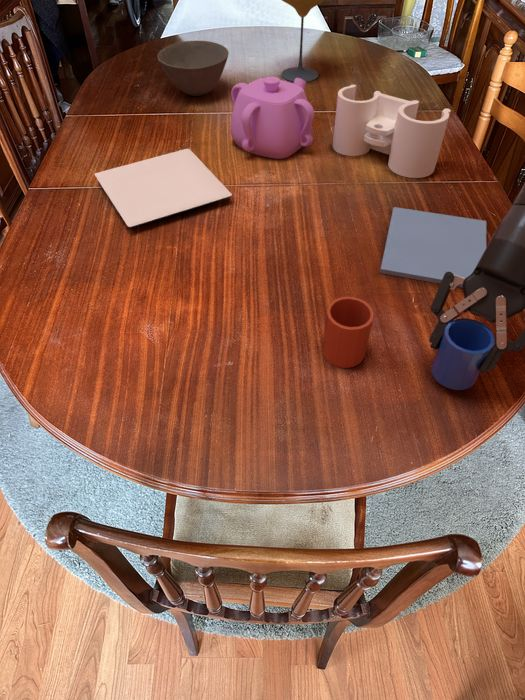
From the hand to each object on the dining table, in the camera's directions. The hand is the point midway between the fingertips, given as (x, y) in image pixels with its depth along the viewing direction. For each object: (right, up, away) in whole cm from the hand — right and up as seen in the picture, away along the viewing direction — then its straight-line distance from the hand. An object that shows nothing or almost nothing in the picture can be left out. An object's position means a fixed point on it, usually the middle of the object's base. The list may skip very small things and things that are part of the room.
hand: (457, 360), depth 70 cm
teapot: (-24, +53, +54) cm, 79 cm away
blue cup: (+1, -2, +4) cm, 5 cm away
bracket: (+1, +46, +48) cm, 66 cm away
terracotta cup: (-14, +1, +9) cm, 17 cm away
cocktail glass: (-16, +82, +79) cm, 115 cm away
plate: (-48, +35, +39) cm, 71 cm away
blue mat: (+6, +21, +26) cm, 33 cm away
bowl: (-45, +73, +72) cm, 112 cm away
